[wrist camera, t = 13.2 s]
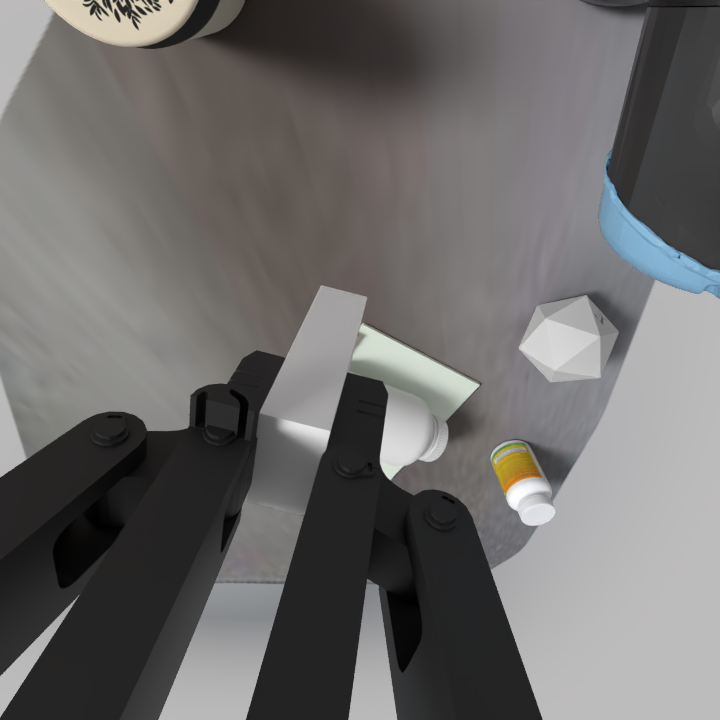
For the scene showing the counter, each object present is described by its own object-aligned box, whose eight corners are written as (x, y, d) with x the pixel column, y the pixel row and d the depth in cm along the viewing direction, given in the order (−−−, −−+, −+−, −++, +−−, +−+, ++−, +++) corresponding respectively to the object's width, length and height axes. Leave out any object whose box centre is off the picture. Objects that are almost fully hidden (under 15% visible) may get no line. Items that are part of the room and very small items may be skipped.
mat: (280, 435, 60) (279, 438, 59) (363, 322, 52) (363, 325, 51) (389, 477, 66) (389, 480, 65) (478, 382, 58) (479, 385, 57)
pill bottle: (346, 358, 48) (463, 404, 55) (310, 368, 55) (417, 407, 61) (327, 440, 46) (450, 477, 52) (292, 440, 52) (405, 472, 59)
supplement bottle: (481, 457, 65) (505, 519, 57) (512, 432, 63) (542, 493, 55) (507, 473, 68) (534, 535, 60) (538, 449, 65) (571, 510, 57)
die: (587, 341, 57) (655, 334, 47) (541, 397, 55) (601, 401, 46) (540, 289, 56) (599, 272, 46) (491, 344, 54) (542, 338, 45)
